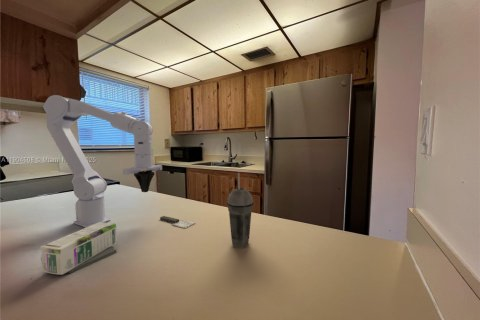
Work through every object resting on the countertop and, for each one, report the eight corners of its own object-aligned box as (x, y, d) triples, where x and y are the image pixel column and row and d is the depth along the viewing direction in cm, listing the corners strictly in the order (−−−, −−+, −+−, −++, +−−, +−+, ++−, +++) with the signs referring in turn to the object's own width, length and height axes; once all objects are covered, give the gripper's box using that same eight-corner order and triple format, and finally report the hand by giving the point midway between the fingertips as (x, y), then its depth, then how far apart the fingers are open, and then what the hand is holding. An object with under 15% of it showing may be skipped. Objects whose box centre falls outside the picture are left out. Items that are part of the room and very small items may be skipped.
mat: (43, 256, 51) (42, 254, 51) (88, 240, 60) (88, 238, 60) (69, 273, 44) (69, 270, 44) (116, 252, 53) (116, 249, 53)
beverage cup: (256, 240, 59) (256, 171, 58) (249, 252, 52) (249, 174, 51) (232, 236, 61) (232, 170, 60) (223, 248, 55) (222, 173, 53)
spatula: (156, 221, 74) (156, 218, 74) (167, 217, 79) (167, 214, 78) (185, 228, 67) (185, 225, 67) (195, 223, 72) (195, 220, 72)
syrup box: (117, 243, 56) (62, 276, 42) (99, 241, 58) (40, 272, 43) (116, 223, 56) (60, 249, 42) (98, 221, 57) (38, 246, 43)
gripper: (131, 156, 66) (133, 197, 67) (167, 154, 79) (168, 189, 80) (118, 155, 69) (120, 195, 70) (154, 153, 82) (156, 187, 83)
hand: (145, 191), depth 75 cm, fingers closed
